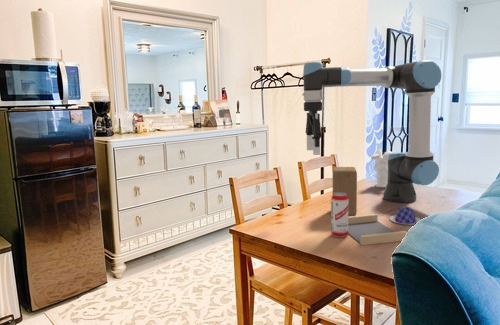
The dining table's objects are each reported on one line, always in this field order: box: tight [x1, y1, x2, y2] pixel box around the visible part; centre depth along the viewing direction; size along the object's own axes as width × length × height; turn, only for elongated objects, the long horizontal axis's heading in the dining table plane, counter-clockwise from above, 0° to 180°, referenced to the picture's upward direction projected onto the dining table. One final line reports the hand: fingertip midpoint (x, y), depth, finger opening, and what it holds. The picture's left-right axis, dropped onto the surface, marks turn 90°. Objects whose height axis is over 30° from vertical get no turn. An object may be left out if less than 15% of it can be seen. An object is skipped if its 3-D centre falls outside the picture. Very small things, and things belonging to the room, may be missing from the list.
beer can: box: [330, 192, 349, 239], centre depth 137 cm, size 6×6×16 cm
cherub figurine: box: [370, 146, 394, 189], centre depth 207 cm, size 12×12×22 cm
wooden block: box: [332, 166, 358, 217], centre depth 163 cm, size 10×10×20 cm
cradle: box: [348, 213, 408, 246], centre depth 140 cm, size 17×22×3 cm
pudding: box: [389, 206, 422, 226], centre depth 151 cm, size 12×12×5 cm
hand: (313, 152), depth 155 cm, fingers open, 13 cm apart
